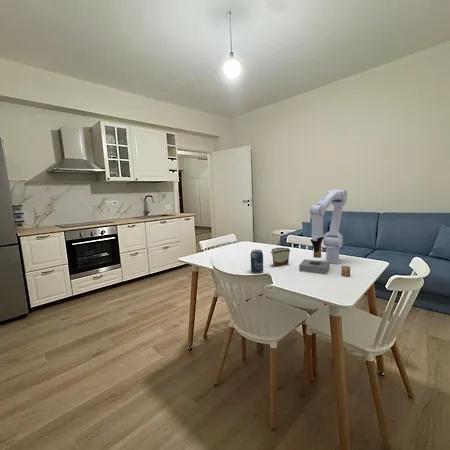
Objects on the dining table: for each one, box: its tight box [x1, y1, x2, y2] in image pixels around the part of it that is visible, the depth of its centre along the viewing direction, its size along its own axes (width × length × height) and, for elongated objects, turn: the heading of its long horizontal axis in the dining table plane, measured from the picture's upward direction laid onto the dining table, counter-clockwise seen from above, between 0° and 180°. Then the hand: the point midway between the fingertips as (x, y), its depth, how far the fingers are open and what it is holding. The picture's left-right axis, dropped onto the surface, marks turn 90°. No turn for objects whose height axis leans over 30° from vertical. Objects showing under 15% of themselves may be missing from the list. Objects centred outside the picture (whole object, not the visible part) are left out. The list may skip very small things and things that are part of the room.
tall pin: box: [313, 243, 322, 259], centre depth 136 cm, size 4×4×8 cm
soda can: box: [250, 249, 264, 274], centre depth 138 cm, size 7×7×12 cm
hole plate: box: [298, 259, 331, 275], centre depth 138 cm, size 12×14×4 cm
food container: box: [270, 247, 291, 268], centre depth 149 cm, size 12×6×10 cm, turn 111°
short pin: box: [340, 265, 351, 278], centre depth 126 cm, size 4×4×4 cm
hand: (317, 251), depth 136 cm, fingers closed on tall pin, 4 cm apart
